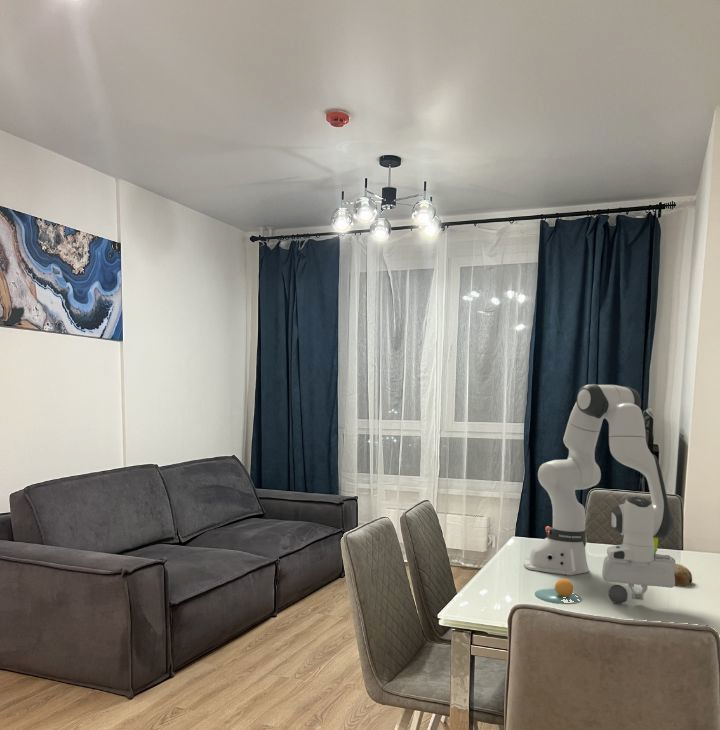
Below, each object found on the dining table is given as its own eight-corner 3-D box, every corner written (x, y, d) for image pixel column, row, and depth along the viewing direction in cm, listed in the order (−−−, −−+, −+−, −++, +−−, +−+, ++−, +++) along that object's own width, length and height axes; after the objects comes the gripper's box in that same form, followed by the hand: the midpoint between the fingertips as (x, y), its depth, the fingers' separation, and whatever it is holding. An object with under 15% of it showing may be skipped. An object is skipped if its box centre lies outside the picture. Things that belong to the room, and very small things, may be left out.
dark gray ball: (632, 593, 198) (625, 609, 199) (627, 585, 203) (620, 600, 204) (614, 587, 198) (607, 603, 199) (610, 578, 203) (603, 594, 204)
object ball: (567, 578, 203) (577, 594, 202) (567, 573, 208) (576, 589, 208) (551, 586, 204) (561, 602, 203) (551, 581, 210) (560, 597, 209)
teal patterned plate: (535, 601, 201) (535, 600, 201) (534, 587, 215) (534, 587, 215) (583, 606, 198) (583, 605, 198) (580, 592, 211) (580, 591, 211)
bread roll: (684, 598, 220) (695, 578, 218) (653, 580, 225) (665, 560, 223) (687, 591, 228) (698, 571, 226) (658, 573, 233) (669, 554, 231)
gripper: (673, 553, 202) (672, 599, 201) (601, 547, 206) (601, 592, 206) (678, 558, 195) (677, 605, 195) (604, 552, 200) (603, 598, 200)
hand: (637, 598), depth 201 cm, fingers closed
